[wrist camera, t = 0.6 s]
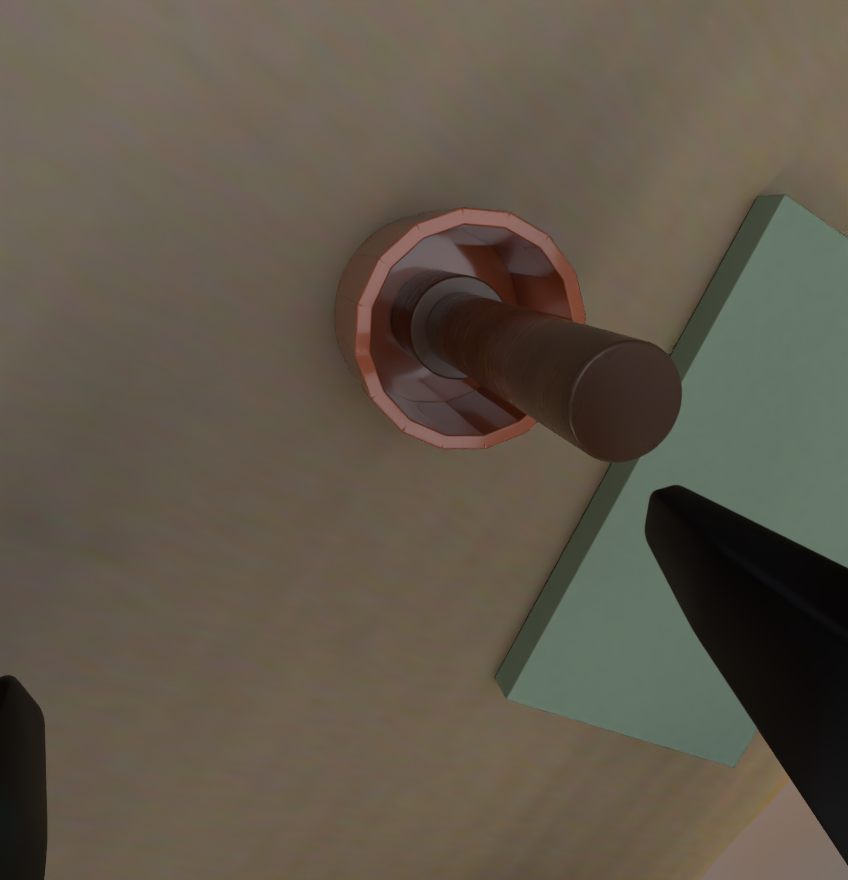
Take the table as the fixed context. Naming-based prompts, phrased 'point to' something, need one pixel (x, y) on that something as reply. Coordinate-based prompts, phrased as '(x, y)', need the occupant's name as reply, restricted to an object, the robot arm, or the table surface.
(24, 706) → the robot arm
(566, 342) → the stirrer
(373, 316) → the cup
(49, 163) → the table surface
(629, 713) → the board
